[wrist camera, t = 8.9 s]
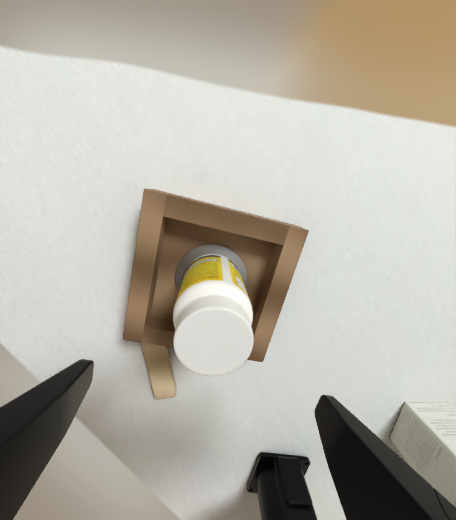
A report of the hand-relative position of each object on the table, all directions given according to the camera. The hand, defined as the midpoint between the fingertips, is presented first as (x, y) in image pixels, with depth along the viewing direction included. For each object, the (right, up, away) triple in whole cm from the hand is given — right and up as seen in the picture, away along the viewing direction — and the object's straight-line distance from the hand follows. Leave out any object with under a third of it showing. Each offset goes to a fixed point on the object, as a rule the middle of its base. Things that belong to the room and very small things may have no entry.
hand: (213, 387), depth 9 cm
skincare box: (+24, -15, +19) cm, 34 cm away
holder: (-1, +4, +11) cm, 12 cm away
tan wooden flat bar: (-6, -5, +13) cm, 16 cm away
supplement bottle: (-1, +3, +10) cm, 11 cm away
